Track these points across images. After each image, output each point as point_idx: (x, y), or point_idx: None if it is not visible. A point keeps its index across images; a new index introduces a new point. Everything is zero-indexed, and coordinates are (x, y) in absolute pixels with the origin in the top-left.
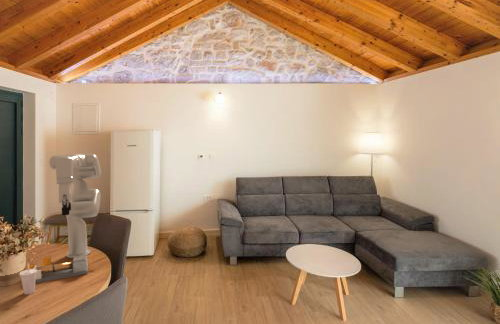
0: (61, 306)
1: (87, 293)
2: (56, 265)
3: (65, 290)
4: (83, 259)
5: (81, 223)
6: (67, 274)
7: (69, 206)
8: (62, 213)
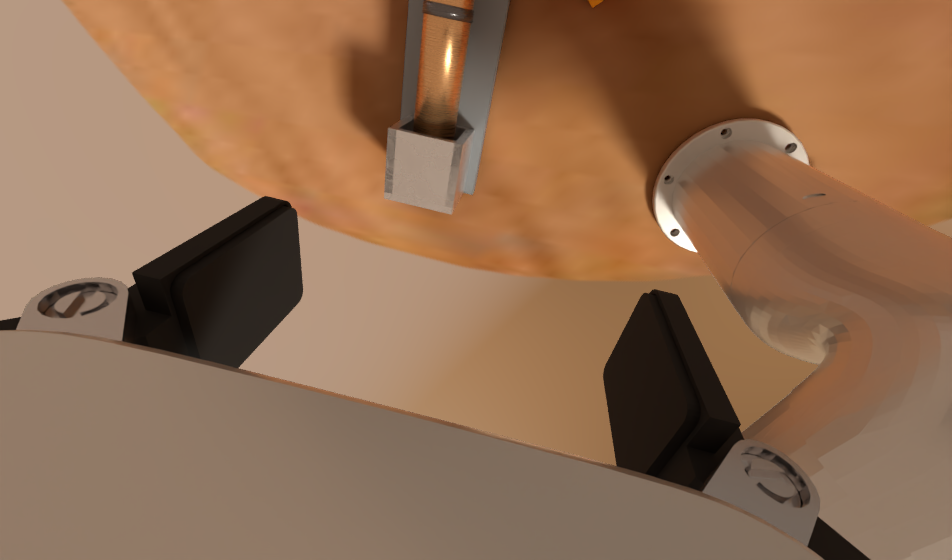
0: (113, 18)
1: (203, 134)
2: (429, 28)
3: (257, 53)
4: (394, 185)
5: (766, 332)
6: (408, 84)
7: (620, 424)
8: (249, 216)
